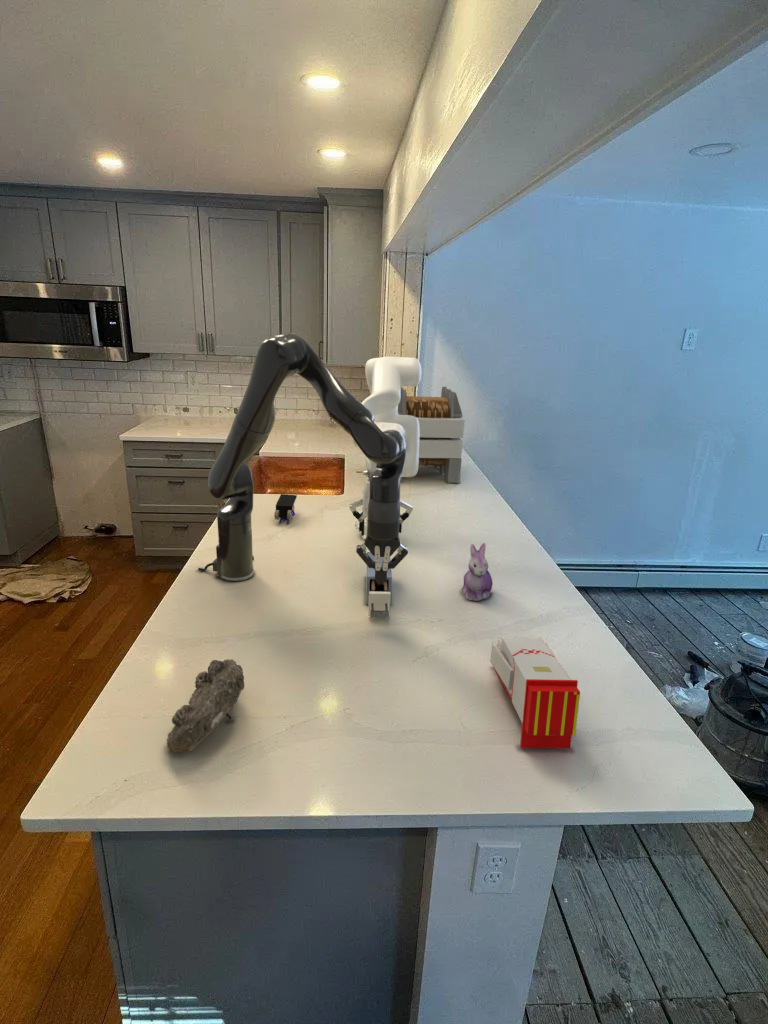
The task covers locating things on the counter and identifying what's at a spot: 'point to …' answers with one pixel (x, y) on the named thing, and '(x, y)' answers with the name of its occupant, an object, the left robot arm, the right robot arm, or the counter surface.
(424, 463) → the transformer
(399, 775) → the counter surface
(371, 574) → the blue-grey slab
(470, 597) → the figurine
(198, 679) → the fossil
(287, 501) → the figurine character
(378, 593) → the drawer
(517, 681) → the toy
